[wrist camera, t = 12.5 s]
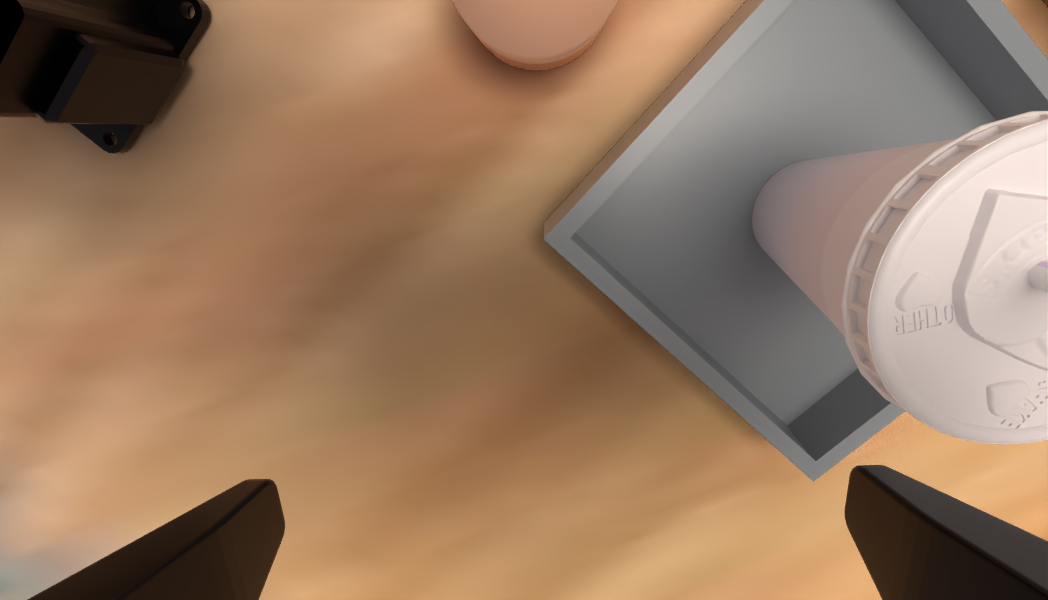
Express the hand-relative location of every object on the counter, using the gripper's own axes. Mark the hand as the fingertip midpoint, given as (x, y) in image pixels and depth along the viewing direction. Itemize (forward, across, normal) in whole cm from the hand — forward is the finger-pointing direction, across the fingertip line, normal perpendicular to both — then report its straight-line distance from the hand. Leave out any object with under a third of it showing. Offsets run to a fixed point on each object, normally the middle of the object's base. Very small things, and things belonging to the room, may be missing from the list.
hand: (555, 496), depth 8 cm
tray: (+13, -9, -2) cm, 16 cm away
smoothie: (+12, -9, -2) cm, 15 cm away
